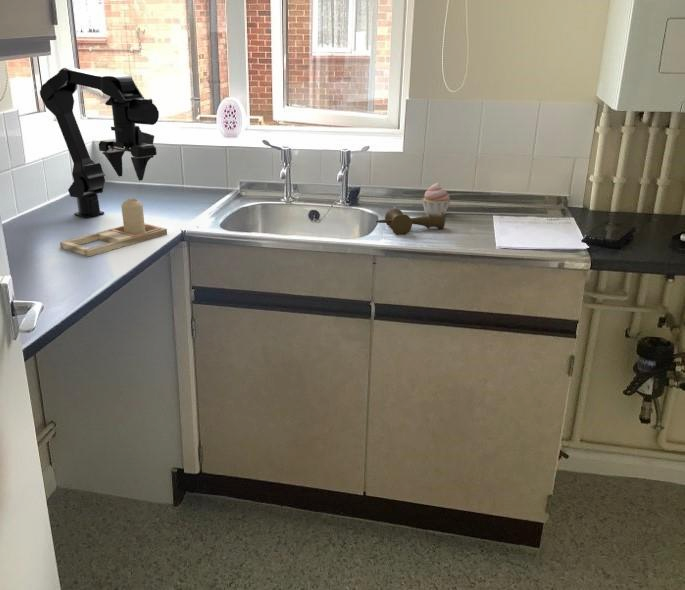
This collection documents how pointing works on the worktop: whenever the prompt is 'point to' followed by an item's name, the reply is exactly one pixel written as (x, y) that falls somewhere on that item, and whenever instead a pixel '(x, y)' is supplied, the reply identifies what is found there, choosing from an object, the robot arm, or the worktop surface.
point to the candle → (133, 217)
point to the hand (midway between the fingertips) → (130, 178)
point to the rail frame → (111, 239)
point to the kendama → (411, 221)
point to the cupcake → (436, 200)
